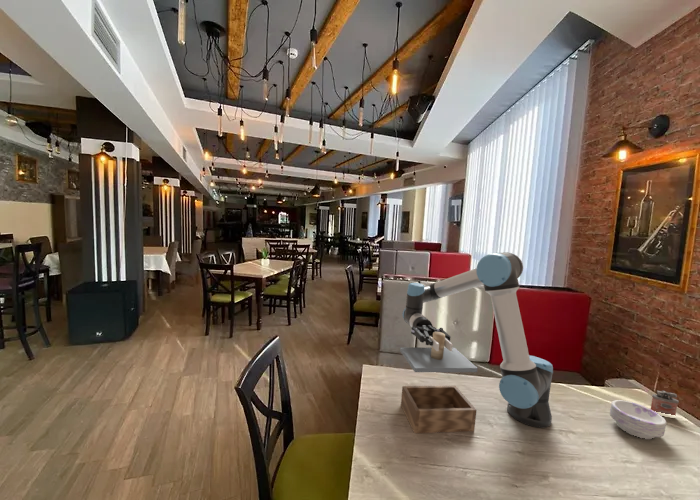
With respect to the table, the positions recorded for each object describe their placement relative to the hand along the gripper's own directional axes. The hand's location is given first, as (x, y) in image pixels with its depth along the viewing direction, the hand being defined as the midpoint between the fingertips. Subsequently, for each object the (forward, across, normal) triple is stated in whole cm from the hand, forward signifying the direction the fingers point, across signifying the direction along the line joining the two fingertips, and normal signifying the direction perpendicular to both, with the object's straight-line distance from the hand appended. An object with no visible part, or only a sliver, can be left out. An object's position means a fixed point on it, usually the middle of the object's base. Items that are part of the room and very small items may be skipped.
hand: (444, 347), depth 111 cm
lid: (-5, 0, -8) cm, 9 cm away
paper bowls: (+8, -75, -28) cm, 80 cm away
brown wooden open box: (-3, -1, -28) cm, 29 cm away
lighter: (0, -98, -28) cm, 102 cm away
